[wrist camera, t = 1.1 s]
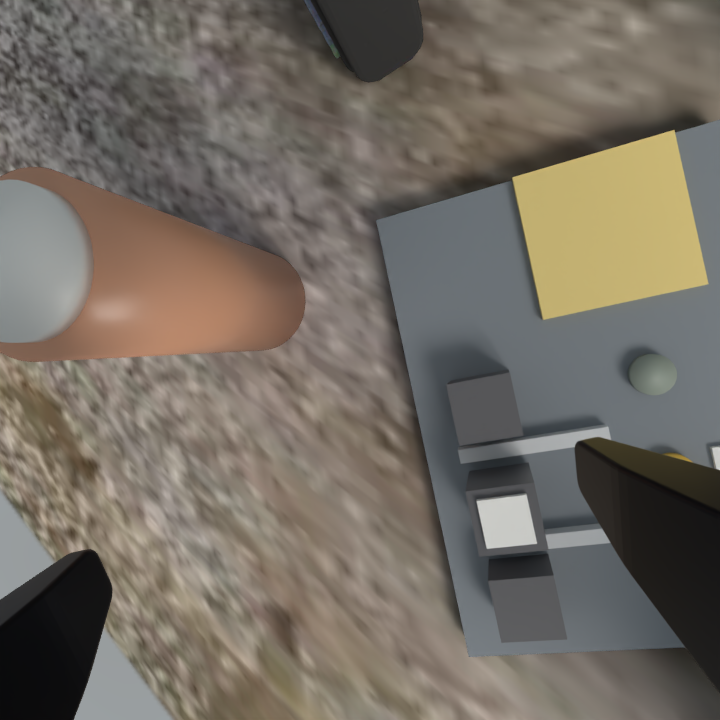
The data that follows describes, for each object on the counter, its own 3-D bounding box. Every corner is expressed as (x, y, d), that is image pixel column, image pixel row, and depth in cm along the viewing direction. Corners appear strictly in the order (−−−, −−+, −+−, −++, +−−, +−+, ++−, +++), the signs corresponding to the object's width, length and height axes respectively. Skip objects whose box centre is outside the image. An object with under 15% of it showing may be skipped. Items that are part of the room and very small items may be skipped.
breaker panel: (825, 622, 19) (888, 675, 16) (470, 641, 23) (466, 687, 20) (715, 129, 20) (756, 91, 17) (381, 226, 23) (364, 209, 20)
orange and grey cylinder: (314, 338, 25) (110, 339, 12) (227, 359, 26) (-46, 380, 13) (293, 240, 25) (67, 130, 12) (207, 266, 26) (-84, 192, 13)
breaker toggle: (541, 520, 21) (549, 552, 18) (481, 527, 21) (479, 559, 18) (528, 462, 21) (534, 484, 18) (469, 470, 21) (464, 493, 18)
